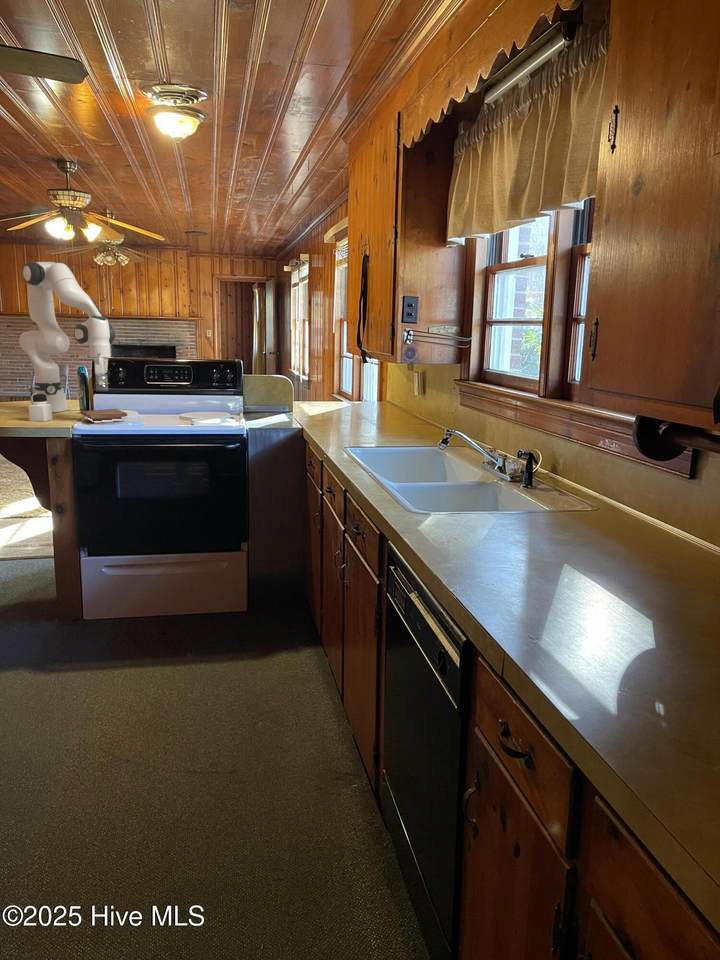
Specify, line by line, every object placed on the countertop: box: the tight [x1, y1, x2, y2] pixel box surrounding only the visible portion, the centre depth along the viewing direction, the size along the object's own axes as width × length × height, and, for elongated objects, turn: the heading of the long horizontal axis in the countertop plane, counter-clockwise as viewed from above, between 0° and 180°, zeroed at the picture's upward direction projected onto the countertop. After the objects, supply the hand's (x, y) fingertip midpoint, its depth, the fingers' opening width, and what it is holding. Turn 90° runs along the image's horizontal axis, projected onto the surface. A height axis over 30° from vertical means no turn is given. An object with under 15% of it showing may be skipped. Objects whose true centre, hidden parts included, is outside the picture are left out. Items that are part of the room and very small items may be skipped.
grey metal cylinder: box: [95, 374, 109, 393], centre depth 317 cm, size 5×5×7 cm
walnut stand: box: [80, 408, 128, 421], centre depth 321 cm, size 16×16×4 cm
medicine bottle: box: [28, 394, 53, 422], centre depth 319 cm, size 7×7×12 cm
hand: (101, 384), depth 318 cm, fingers closed on grey metal cylinder, 5 cm apart
